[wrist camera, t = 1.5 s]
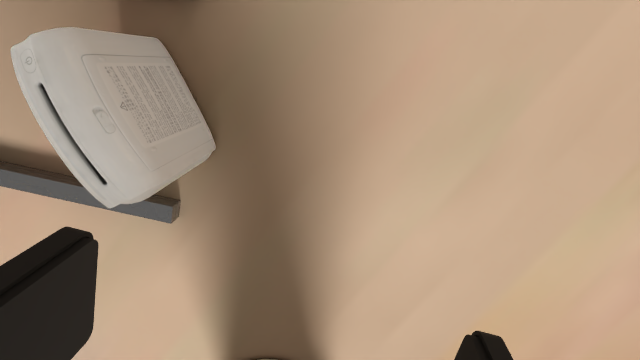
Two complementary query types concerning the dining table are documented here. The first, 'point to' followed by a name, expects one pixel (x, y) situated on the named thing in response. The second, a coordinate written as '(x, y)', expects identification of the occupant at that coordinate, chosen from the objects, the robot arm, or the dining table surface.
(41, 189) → the motor mount
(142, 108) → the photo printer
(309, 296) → the dining table surface
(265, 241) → the dining table surface
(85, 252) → the robot arm
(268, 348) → the dining table surface
